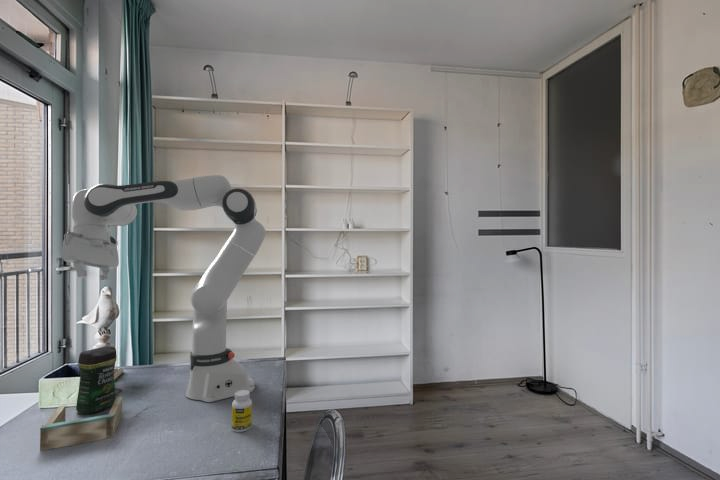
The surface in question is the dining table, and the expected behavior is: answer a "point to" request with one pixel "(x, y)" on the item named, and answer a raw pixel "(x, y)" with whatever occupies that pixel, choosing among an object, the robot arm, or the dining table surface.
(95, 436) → the dock bay
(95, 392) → the coffee jar
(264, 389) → the dining table surface
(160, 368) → the dining table surface
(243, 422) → the supplement bottle
